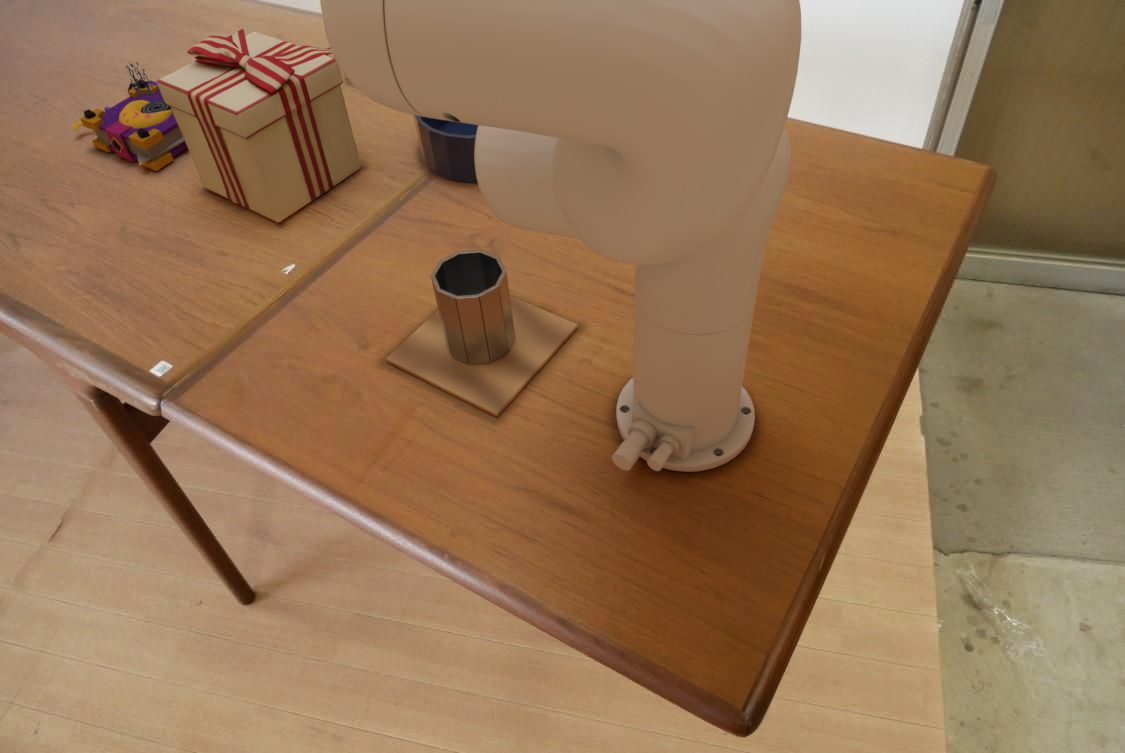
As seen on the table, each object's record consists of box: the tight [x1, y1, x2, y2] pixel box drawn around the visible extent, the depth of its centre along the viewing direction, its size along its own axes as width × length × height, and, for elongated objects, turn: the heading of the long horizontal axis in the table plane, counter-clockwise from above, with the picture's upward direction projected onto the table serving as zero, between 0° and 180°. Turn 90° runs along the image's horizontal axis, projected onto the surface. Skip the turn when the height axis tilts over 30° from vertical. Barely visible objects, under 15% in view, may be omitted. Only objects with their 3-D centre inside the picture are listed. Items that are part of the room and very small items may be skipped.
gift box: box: [156, 28, 362, 223], centre depth 102 cm, size 17×18×17 cm
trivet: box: [385, 295, 579, 418], centre depth 86 cm, size 14×14×1 cm
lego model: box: [71, 61, 188, 172], centre depth 111 cm, size 15×25×12 cm, turn 59°
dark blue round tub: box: [413, 115, 478, 184], centre depth 108 cm, size 16×16×6 cm
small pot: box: [430, 249, 515, 365], centre depth 82 cm, size 7×7×9 cm
